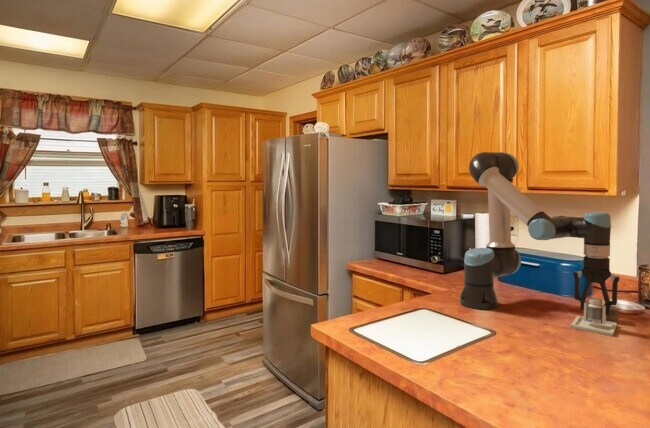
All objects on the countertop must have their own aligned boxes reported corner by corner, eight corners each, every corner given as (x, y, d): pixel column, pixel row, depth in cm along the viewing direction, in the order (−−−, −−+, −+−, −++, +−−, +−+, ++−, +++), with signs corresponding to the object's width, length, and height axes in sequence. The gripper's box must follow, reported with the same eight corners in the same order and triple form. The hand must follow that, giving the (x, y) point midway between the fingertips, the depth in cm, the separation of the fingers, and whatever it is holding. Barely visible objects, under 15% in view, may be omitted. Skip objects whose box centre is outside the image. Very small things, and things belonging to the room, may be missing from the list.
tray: (570, 328, 136) (570, 324, 136) (577, 318, 145) (577, 315, 145) (612, 336, 128) (613, 333, 128) (616, 326, 137) (617, 322, 137)
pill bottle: (605, 325, 134) (606, 301, 133) (590, 324, 135) (591, 300, 134) (598, 320, 138) (599, 297, 138) (584, 319, 139) (584, 296, 139)
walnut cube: (601, 322, 142) (601, 308, 142) (598, 317, 146) (599, 304, 146) (618, 324, 140) (618, 310, 139) (615, 319, 144) (615, 306, 144)
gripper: (564, 255, 138) (563, 319, 140) (627, 261, 126) (625, 330, 128) (569, 252, 144) (567, 313, 145) (629, 257, 132) (627, 324, 133)
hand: (594, 321), depth 137 cm, fingers closed on pill bottle, 5 cm apart
